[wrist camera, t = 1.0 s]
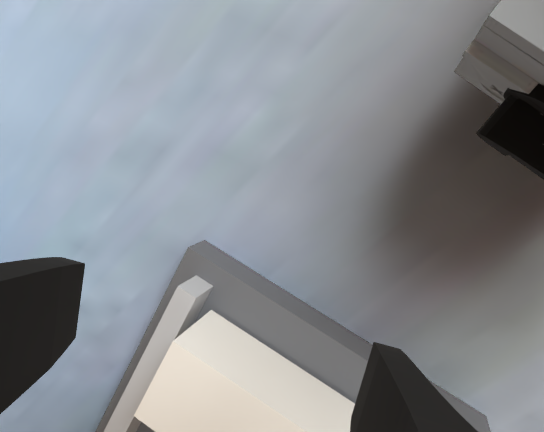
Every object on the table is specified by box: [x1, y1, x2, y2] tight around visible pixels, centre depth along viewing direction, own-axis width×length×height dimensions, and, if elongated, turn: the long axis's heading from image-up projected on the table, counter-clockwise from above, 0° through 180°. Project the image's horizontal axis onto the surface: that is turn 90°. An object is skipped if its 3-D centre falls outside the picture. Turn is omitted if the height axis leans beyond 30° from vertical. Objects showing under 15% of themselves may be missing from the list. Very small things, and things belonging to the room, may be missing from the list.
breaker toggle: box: [134, 310, 355, 432], centre depth 21 cm, size 11×4×4 cm, turn 61°
